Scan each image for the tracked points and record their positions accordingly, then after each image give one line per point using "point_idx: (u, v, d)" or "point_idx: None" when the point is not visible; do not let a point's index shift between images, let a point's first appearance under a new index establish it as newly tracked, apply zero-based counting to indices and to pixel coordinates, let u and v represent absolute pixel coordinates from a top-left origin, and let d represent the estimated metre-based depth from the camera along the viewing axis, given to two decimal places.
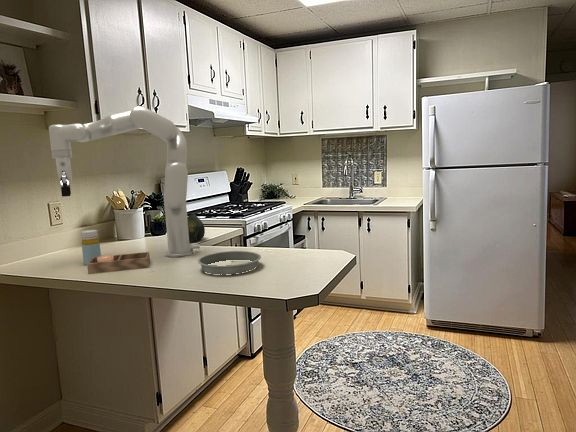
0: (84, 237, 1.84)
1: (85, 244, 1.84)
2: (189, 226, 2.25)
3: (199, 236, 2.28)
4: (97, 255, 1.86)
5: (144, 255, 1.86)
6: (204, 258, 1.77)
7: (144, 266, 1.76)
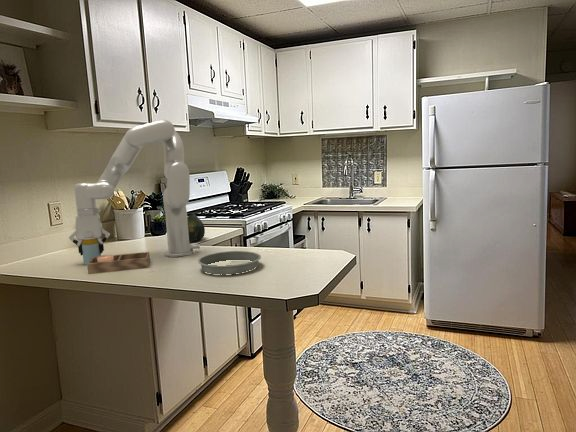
0: (84, 237, 1.84)
1: (85, 244, 1.84)
2: (189, 226, 2.25)
3: (199, 236, 2.28)
4: (97, 255, 1.86)
5: (144, 255, 1.86)
6: (204, 258, 1.77)
7: (144, 266, 1.76)
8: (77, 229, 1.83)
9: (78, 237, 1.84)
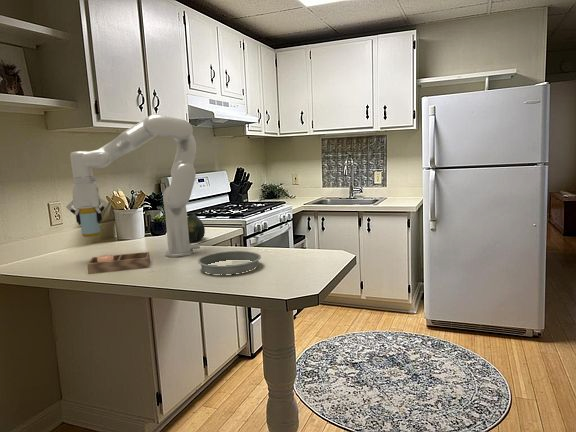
0: (81, 206, 1.82)
1: (83, 213, 1.82)
2: (189, 226, 2.25)
3: (199, 236, 2.28)
4: (95, 224, 1.85)
5: (144, 255, 1.86)
6: (204, 258, 1.77)
7: (144, 266, 1.76)
8: (74, 198, 1.82)
9: (75, 206, 1.82)
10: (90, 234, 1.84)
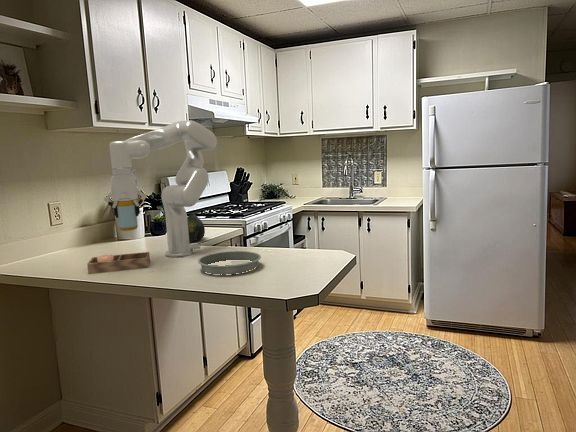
0: (120, 198, 1.75)
1: (121, 206, 1.74)
2: (189, 226, 2.25)
3: (199, 236, 2.28)
4: (133, 218, 1.77)
5: (144, 255, 1.86)
6: (204, 258, 1.77)
7: (144, 266, 1.76)
8: (112, 190, 1.74)
9: (114, 198, 1.75)
10: (128, 228, 1.76)
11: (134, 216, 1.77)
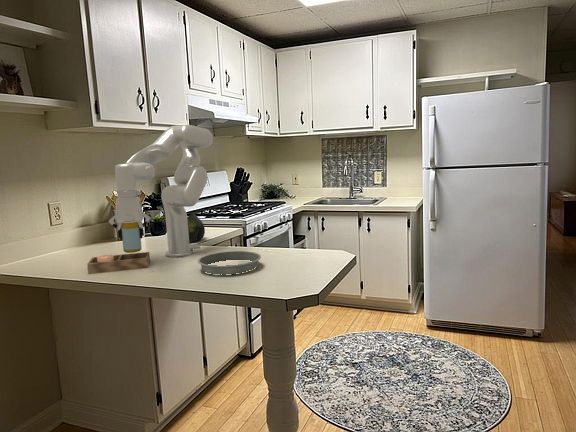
0: (124, 221, 1.75)
1: (125, 228, 1.75)
2: (189, 226, 2.25)
3: (199, 236, 2.28)
4: (137, 240, 1.77)
5: (144, 255, 1.86)
6: (204, 258, 1.77)
7: (144, 266, 1.76)
8: (117, 212, 1.75)
9: (118, 221, 1.75)
10: (132, 250, 1.76)
11: (138, 238, 1.78)
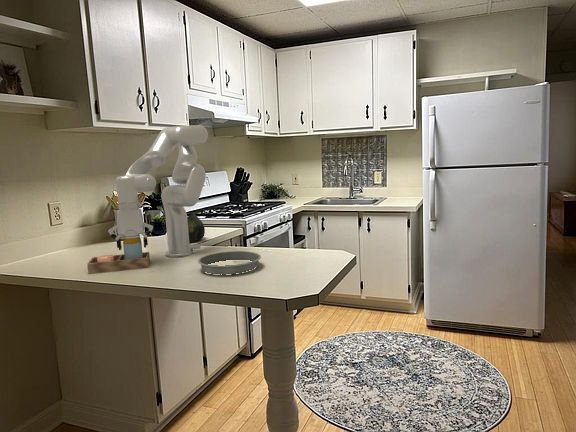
0: (126, 236, 1.76)
1: (127, 243, 1.76)
2: (189, 226, 2.25)
3: (199, 236, 2.28)
4: (139, 255, 1.79)
5: (144, 255, 1.86)
6: (204, 258, 1.77)
7: (144, 266, 1.76)
8: (119, 224, 1.75)
9: (120, 232, 1.76)
10: None
11: (140, 253, 1.79)
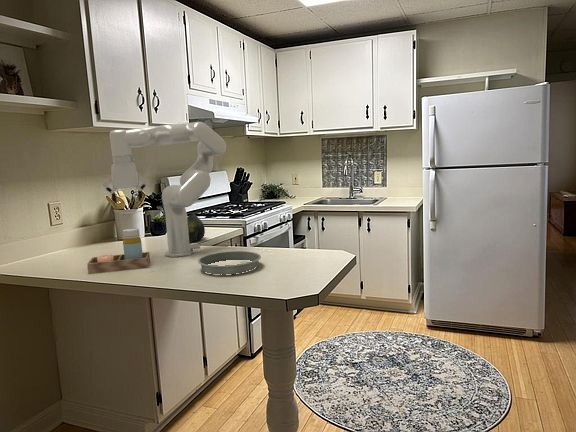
0: (126, 236, 1.76)
1: (127, 243, 1.76)
2: (189, 226, 2.25)
3: (199, 236, 2.28)
4: (139, 255, 1.79)
5: (144, 255, 1.86)
6: (204, 258, 1.77)
7: (144, 266, 1.76)
8: (114, 177, 1.79)
9: (115, 185, 1.80)
10: None
11: (140, 253, 1.79)
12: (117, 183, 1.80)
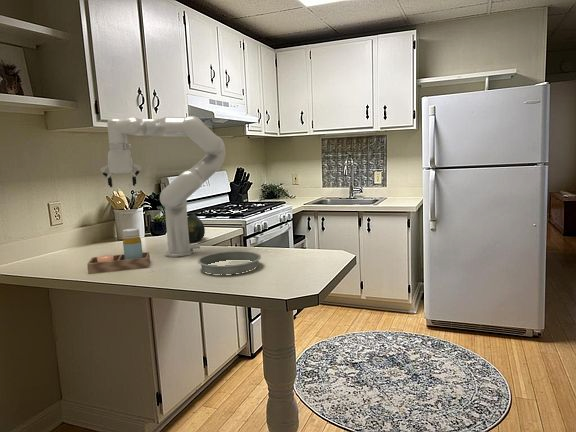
0: (126, 236, 1.76)
1: (127, 243, 1.76)
2: (189, 226, 2.25)
3: (199, 236, 2.28)
4: (139, 255, 1.79)
5: (144, 255, 1.86)
6: (204, 258, 1.77)
7: (144, 266, 1.76)
8: (110, 163, 1.92)
9: (110, 171, 1.93)
10: None
11: (140, 253, 1.79)
12: (113, 168, 1.93)
